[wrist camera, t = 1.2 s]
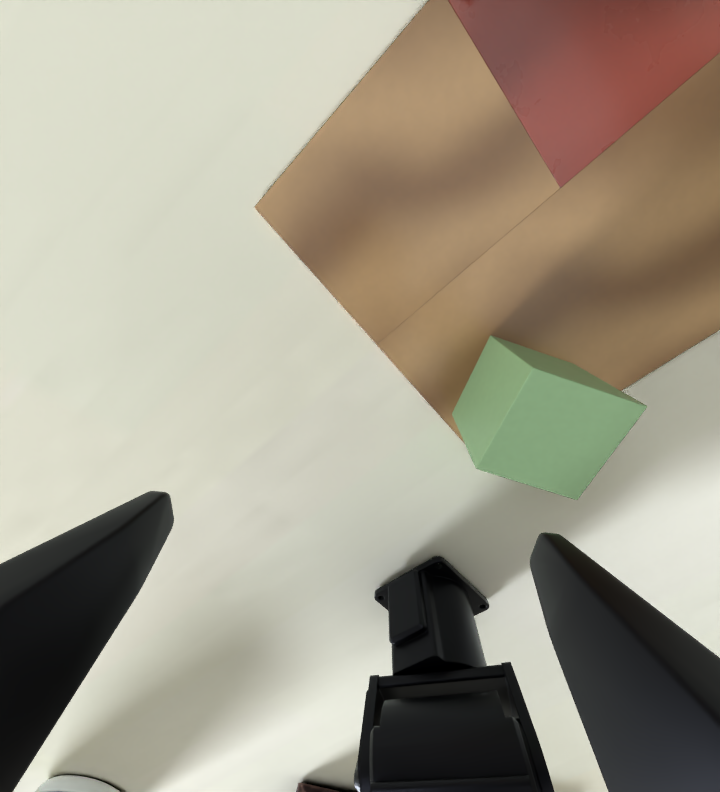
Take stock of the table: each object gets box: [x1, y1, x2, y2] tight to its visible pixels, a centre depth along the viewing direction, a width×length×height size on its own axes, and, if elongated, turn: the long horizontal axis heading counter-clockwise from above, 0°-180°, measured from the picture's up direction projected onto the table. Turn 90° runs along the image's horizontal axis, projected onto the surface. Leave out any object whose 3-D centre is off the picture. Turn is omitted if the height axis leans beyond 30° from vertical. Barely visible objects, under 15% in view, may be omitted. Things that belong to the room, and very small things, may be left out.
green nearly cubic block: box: [452, 335, 647, 500], centre depth 17 cm, size 5×5×6 cm
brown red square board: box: [255, 0, 720, 442], centre depth 16 cm, size 20×20×1 cm
